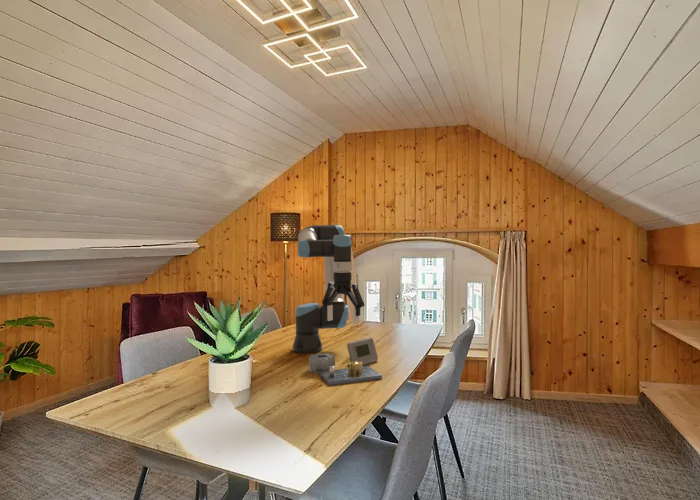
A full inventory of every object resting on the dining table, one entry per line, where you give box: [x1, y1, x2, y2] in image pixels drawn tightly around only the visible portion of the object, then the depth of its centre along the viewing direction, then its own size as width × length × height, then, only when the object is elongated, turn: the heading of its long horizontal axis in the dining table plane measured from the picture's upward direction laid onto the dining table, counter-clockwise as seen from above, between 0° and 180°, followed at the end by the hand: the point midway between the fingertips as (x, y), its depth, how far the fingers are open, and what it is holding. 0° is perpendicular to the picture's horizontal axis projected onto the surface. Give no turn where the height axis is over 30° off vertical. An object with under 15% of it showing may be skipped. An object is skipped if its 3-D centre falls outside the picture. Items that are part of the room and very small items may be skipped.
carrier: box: [318, 360, 383, 386], centre depth 173 cm, size 14×22×6 cm, turn 110°
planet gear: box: [308, 352, 336, 375], centre depth 182 cm, size 11×11×6 cm
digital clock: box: [346, 336, 379, 366], centre depth 192 cm, size 16×9×11 cm, turn 123°
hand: (342, 322), depth 180 cm, fingers open, 13 cm apart
